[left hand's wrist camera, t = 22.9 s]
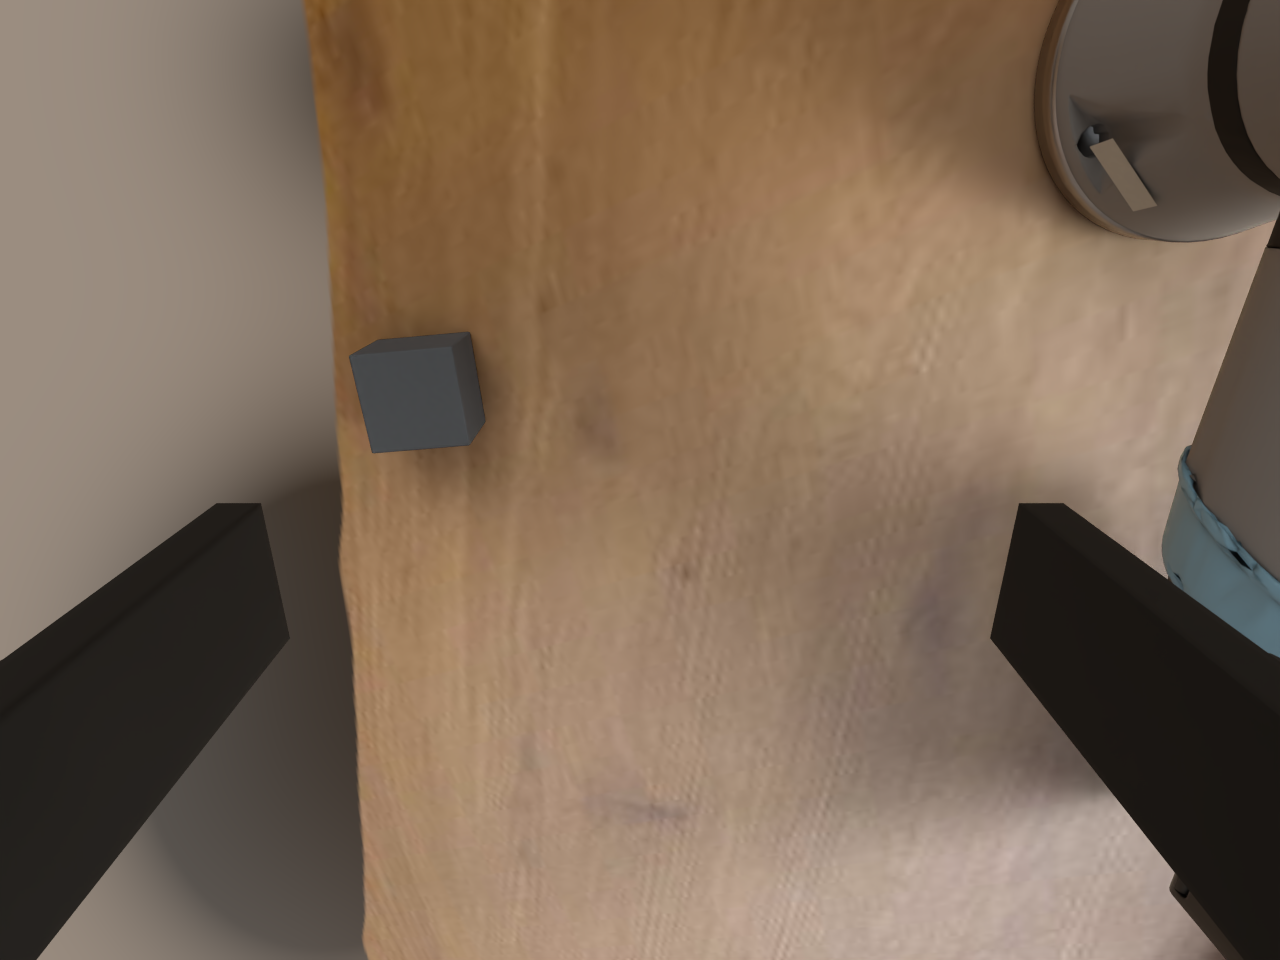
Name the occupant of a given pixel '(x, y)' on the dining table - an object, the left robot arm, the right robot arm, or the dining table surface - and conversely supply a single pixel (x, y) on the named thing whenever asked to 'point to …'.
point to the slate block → (419, 392)
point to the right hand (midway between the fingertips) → (1197, 770)
